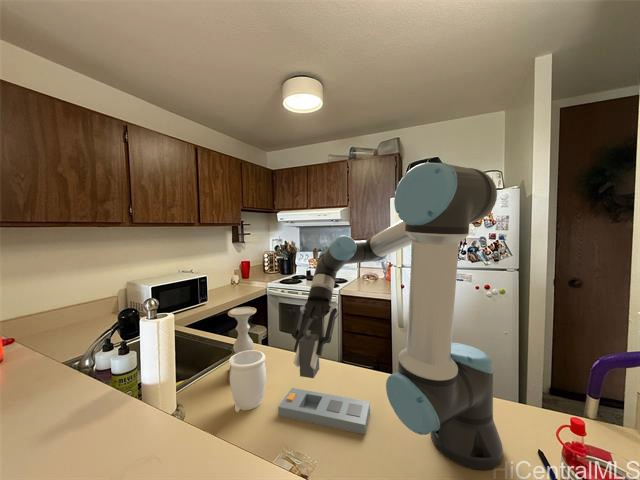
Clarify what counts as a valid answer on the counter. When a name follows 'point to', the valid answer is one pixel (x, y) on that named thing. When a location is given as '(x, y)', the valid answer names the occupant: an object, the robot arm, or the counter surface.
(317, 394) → the power strip
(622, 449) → the counter surface
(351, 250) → the robot arm
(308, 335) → the block
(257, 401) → the jar
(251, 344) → the candle holder
